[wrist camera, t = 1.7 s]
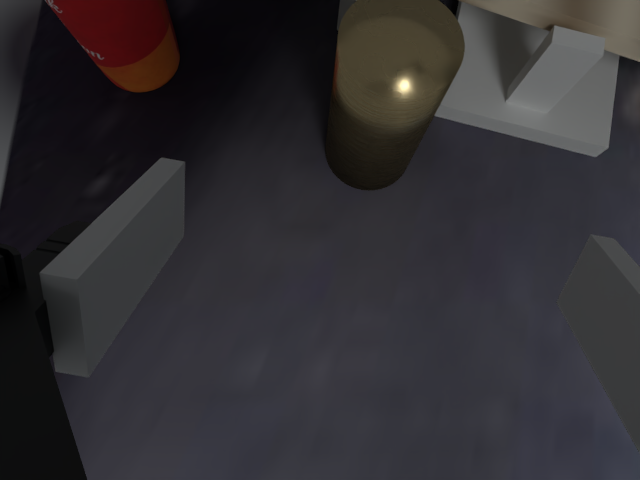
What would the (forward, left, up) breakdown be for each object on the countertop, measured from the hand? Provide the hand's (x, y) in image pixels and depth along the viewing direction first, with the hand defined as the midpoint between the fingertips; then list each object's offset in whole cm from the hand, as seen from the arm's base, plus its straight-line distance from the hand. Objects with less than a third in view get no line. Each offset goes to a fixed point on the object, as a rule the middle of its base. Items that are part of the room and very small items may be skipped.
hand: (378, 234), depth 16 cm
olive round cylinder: (+7, -8, -16) cm, 20 cm away
